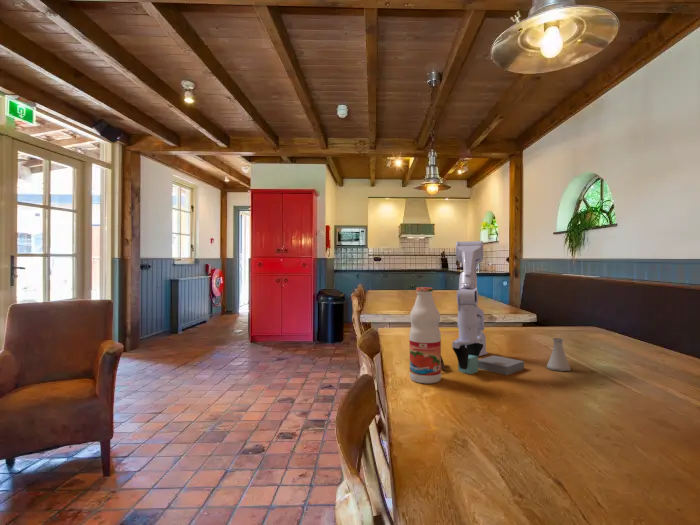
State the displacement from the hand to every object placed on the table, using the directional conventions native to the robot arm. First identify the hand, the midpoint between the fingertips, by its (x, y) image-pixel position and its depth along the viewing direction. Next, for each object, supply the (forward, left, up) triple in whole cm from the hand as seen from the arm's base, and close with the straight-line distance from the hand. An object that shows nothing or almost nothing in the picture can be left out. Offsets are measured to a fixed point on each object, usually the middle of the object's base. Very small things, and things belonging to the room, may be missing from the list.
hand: (468, 367), depth 121 cm
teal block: (0, 0, -2) cm, 2 cm away
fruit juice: (+17, -4, -2) cm, 18 cm away
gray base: (-11, +5, -2) cm, 12 cm away
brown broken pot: (+5, -11, -2) cm, 12 cm away
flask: (-25, +18, -2) cm, 31 cm away
